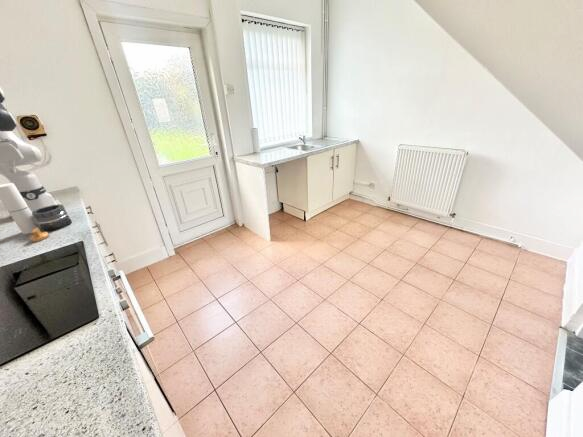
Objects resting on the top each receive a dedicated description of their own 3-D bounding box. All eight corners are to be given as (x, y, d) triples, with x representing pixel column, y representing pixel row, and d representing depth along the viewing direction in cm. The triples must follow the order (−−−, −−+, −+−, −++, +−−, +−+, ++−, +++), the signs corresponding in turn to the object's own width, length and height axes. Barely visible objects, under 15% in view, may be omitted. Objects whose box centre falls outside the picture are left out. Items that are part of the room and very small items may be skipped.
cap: (32, 238, 117) (27, 229, 115) (50, 233, 121) (45, 225, 118) (30, 244, 113) (24, 235, 110) (48, 238, 116) (43, 230, 114)
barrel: (44, 225, 129) (34, 209, 125) (72, 218, 136) (63, 202, 131) (40, 234, 121) (29, 216, 116) (71, 226, 127) (61, 209, 122)
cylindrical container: (29, 234, 121) (-2, 188, 110) (19, 233, 123) (-13, 188, 111) (45, 227, 127) (17, 183, 116) (35, 226, 129) (6, 182, 117)
